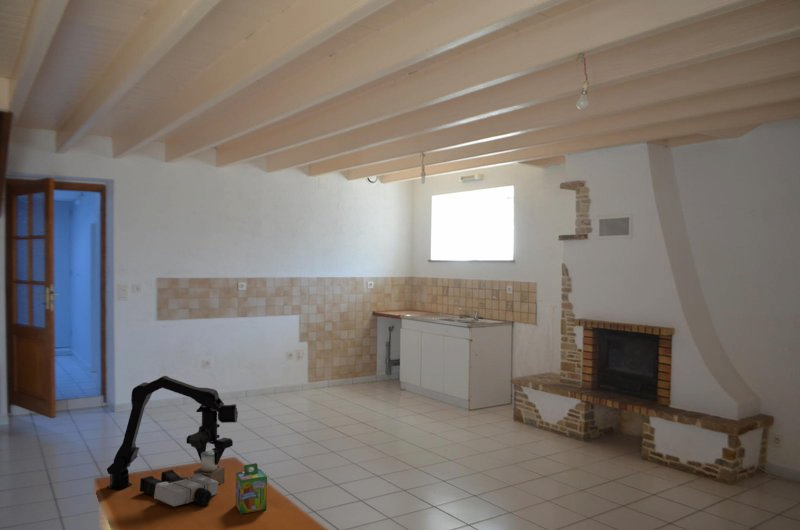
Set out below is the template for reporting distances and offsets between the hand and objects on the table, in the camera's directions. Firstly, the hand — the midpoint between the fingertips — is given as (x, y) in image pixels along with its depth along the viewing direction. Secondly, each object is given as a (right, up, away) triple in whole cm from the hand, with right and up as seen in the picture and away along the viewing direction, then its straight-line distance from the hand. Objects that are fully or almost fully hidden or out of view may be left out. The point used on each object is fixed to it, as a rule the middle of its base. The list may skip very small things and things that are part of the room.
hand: (209, 463), depth 224 cm
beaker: (0, -2, 0) cm, 2 cm away
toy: (-6, -9, -12) cm, 16 cm away
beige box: (0, -8, 0) cm, 8 cm away
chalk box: (+22, -8, -22) cm, 32 cm away
